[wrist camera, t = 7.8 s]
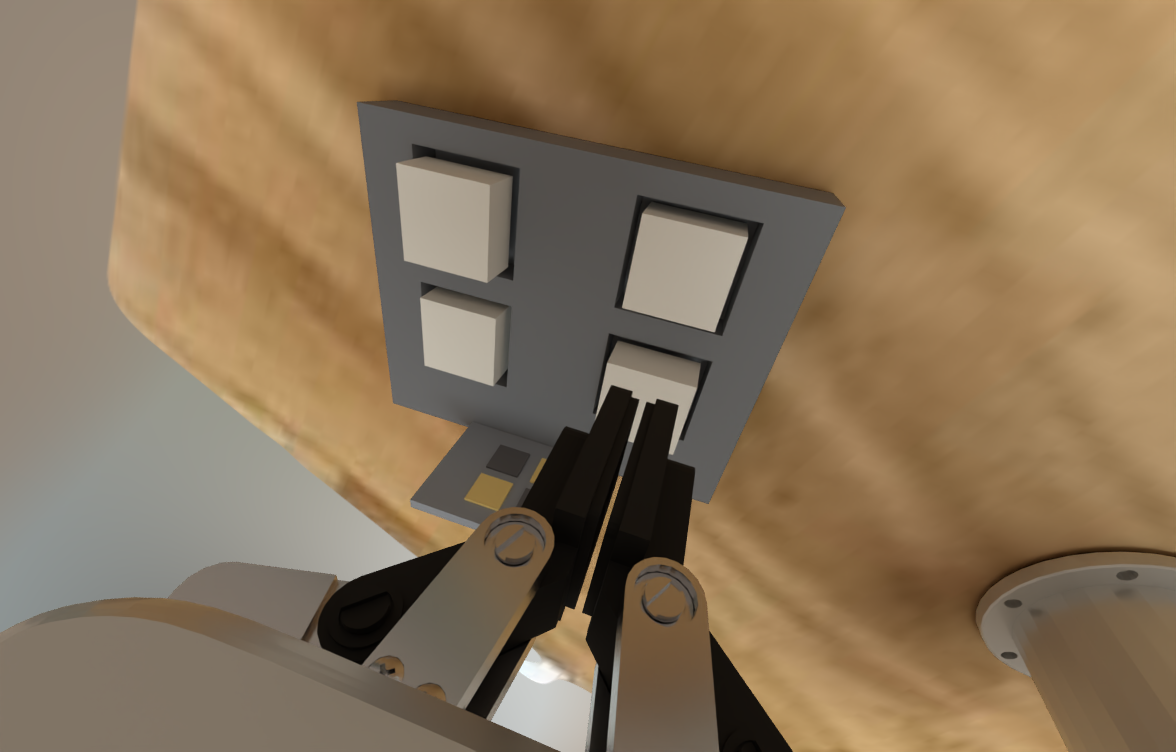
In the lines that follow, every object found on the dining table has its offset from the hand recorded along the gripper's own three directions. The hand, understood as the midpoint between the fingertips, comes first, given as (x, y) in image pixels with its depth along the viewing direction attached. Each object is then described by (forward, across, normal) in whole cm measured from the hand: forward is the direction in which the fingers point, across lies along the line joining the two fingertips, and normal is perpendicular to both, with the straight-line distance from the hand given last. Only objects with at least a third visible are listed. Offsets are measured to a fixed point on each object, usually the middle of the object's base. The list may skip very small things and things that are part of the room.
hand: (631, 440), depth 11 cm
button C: (+13, 0, +7) cm, 14 cm away
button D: (+14, +11, +7) cm, 19 cm away
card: (+12, +6, +13) cm, 19 cm away
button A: (+14, 0, 0) cm, 14 cm away
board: (+15, +6, +5) cm, 17 cm away
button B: (+12, +11, 0) cm, 17 cm away
